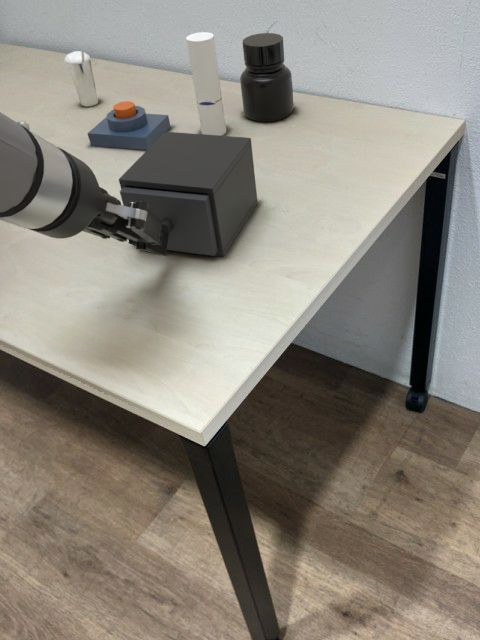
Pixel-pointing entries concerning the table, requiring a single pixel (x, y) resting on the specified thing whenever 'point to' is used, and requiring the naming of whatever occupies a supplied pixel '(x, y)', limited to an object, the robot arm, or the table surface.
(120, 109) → the button
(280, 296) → the table surface
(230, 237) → the grey drawer cabinet
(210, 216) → the open drawer with knob
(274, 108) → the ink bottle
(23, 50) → the table surface
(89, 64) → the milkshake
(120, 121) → the button block
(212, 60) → the tube
